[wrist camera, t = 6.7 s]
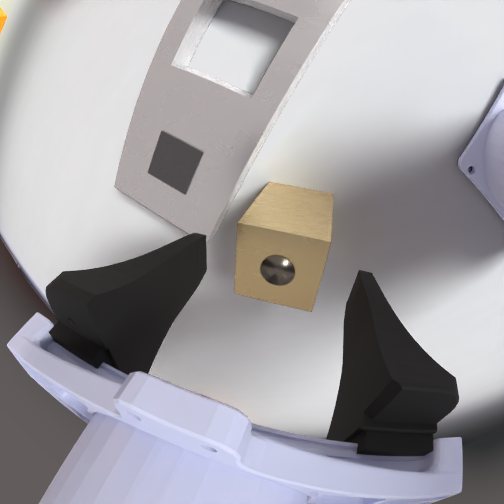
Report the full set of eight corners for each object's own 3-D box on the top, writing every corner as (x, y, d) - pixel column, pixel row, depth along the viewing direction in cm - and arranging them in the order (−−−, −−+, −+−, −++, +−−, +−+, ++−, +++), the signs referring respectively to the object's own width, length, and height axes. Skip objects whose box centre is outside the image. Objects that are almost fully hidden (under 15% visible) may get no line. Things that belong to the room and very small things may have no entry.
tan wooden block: (333, 194, 16) (330, 242, 11) (321, 250, 18) (311, 312, 13) (269, 181, 17) (236, 223, 12) (263, 237, 19) (233, 294, 14)
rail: (391, -56, 6) (395, -71, 4) (217, 230, 20) (205, 245, 18) (272, -95, 5) (264, -109, 4) (131, 177, 19) (113, 187, 18)
